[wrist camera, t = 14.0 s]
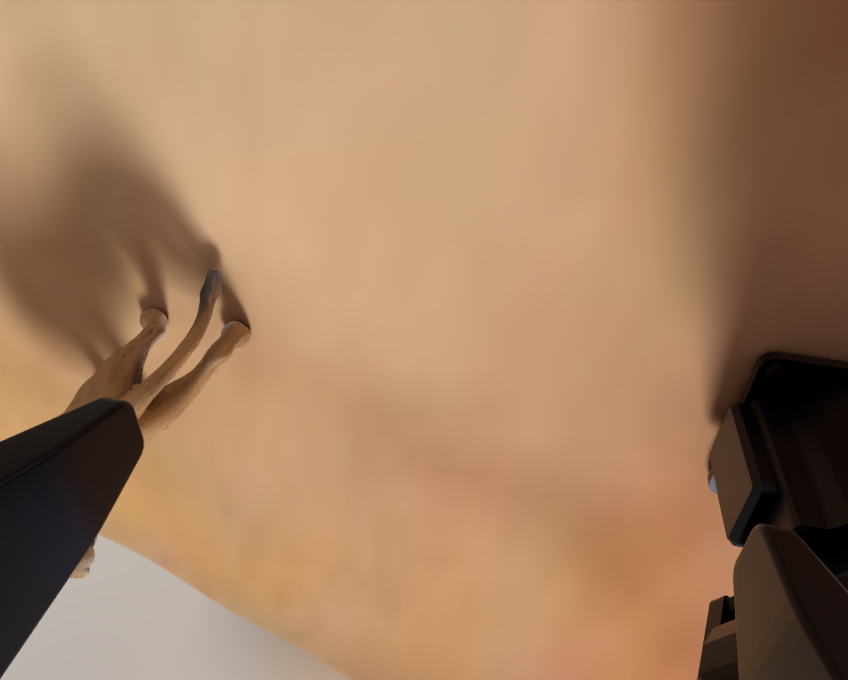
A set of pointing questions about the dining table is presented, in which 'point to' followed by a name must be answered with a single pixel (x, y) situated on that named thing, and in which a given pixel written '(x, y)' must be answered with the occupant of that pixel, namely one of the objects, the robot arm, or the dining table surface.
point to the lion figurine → (160, 373)
